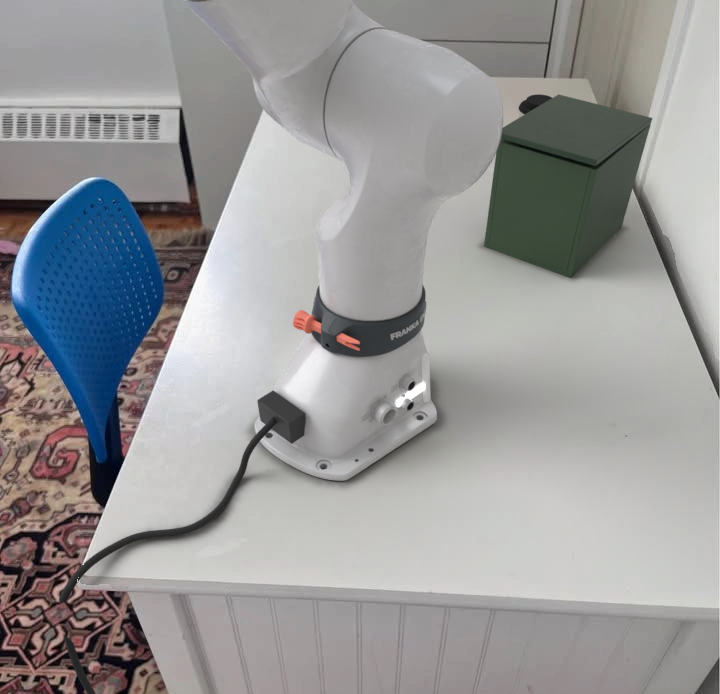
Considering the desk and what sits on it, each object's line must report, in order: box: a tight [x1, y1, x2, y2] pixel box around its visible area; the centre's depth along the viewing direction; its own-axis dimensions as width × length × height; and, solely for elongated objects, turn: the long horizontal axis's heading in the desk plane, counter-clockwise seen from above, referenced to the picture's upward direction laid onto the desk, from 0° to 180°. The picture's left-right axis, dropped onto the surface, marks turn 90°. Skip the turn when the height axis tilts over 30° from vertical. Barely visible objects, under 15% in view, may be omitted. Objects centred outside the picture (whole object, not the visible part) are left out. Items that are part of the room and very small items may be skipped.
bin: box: [483, 123, 652, 278], centre depth 106 cm, size 18×15×16 cm
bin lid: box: [501, 94, 653, 166], centre depth 99 cm, size 18×15×1 cm
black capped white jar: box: [517, 94, 553, 118], centre depth 126 cm, size 7×7×10 cm
